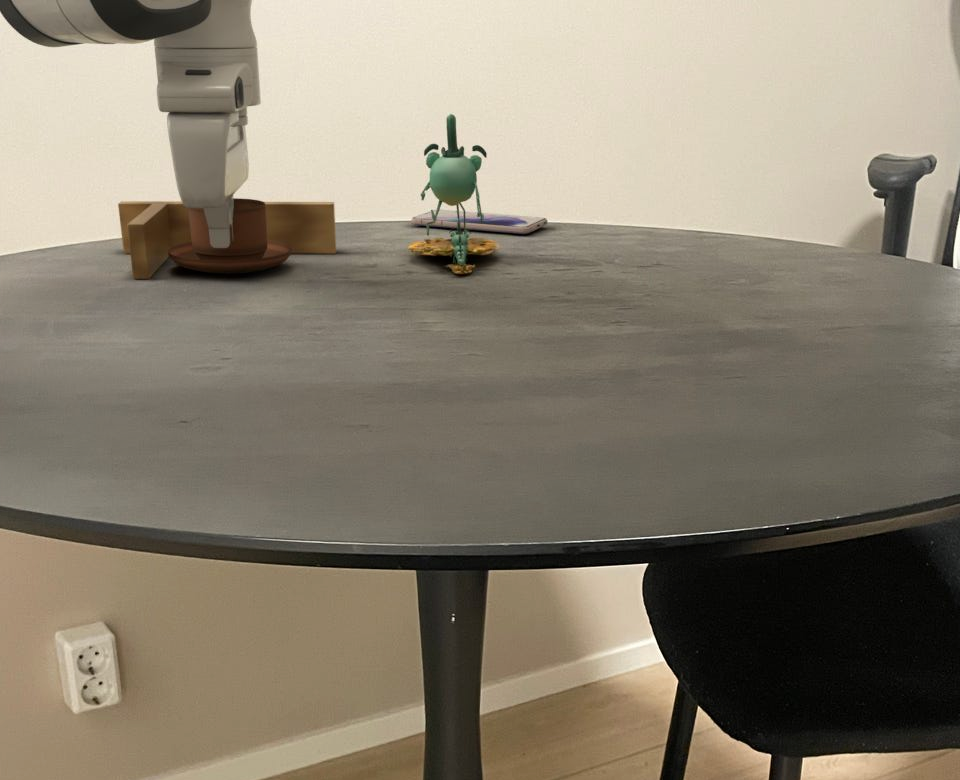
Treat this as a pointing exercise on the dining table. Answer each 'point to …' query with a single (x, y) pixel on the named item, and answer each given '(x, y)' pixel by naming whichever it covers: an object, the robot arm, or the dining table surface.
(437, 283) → the dining table surface
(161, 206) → the corner stop
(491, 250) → the green cartoon figurine
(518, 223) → the smartphone
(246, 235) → the cup and saucer
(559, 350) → the dining table surface
